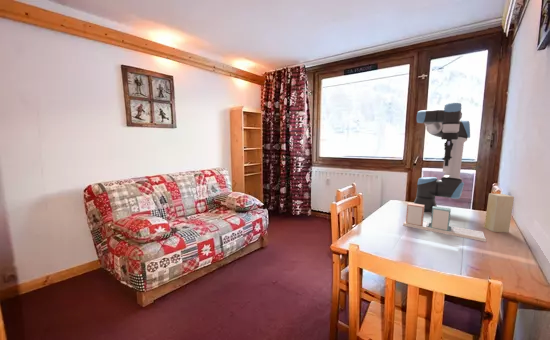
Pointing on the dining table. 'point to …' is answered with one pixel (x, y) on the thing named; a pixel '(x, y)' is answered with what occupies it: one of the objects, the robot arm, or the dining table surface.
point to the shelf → (452, 231)
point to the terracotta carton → (415, 214)
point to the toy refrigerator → (499, 212)
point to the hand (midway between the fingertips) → (446, 170)
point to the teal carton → (440, 218)
